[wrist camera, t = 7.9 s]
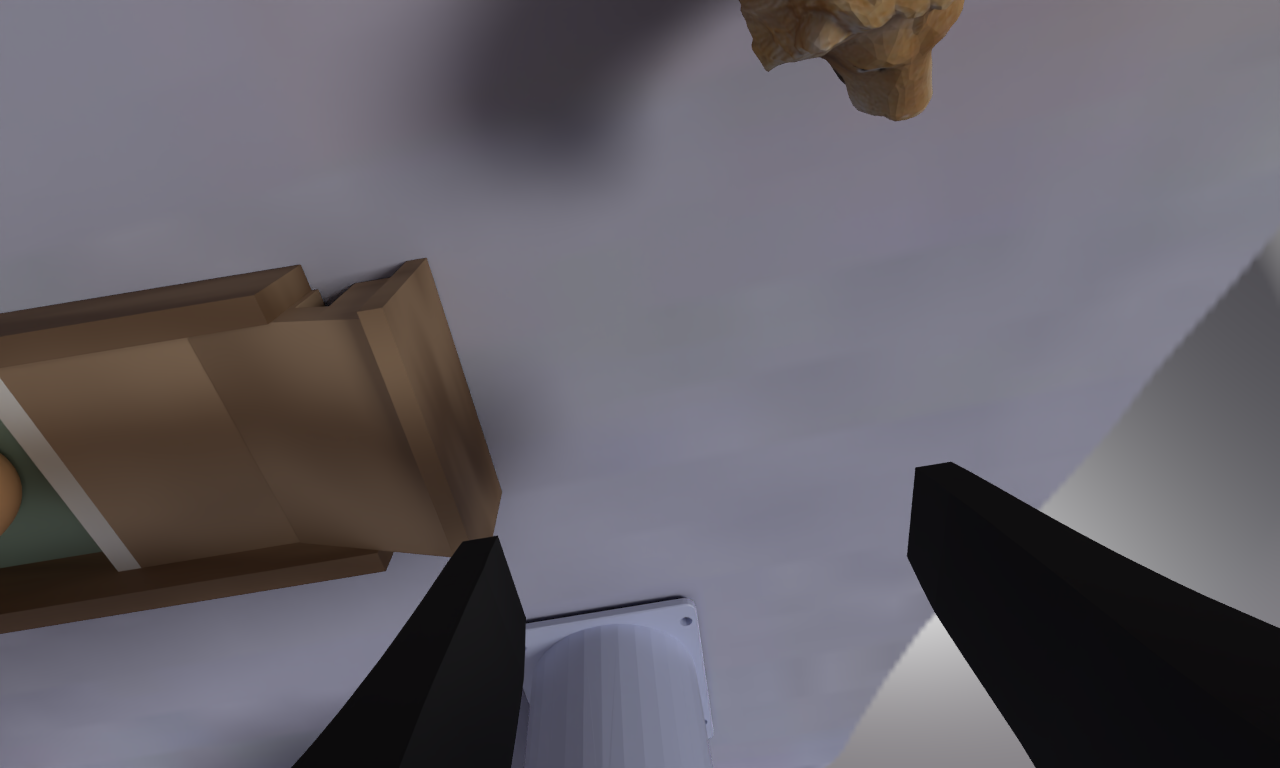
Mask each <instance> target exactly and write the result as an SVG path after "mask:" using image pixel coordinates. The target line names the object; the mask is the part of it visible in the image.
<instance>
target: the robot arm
mask: <svg viewBox="0 0 1280 768" xmlns="http://www.w3.org/2000/svg"><path fill="white" fill-rule="evenodd" d="M907 557H908V559H909V561H910V564H911V566H912V568H913V570H914V572H915V574H916V576H917V578H918V580H919V582H920V585H921V587H922V589H923V590H924V592H925V594H926V596H927V598H928V600H929V602H930V604H931V606H932V608H933V610H934V612H935V613H936V615H937V616H938V618H939V620H940V621H941V623H942V624H943V626H944V627H945V629H946V630H947V632H948V634H949V635H950V637H951V638H952V639H953V641H954V643H955V644H956V646H957V647H958V649H959V650H960V652H961V653H962V655H963V657H964V658H965V660H966V661H967V662H968V664H969V666H970V667H971V669H972V670H973V672H974V673H975V675H976V676H977V678H978V679H979V681H980V682H981V684H982V685H983V687H984V688H985V689H986V691H987V693H988V694H989V696H990V697H991V698H992V700H993V702H994V703H995V705H996V706H997V708H998V709H999V711H1000V712H1001V714H1002V715H1003V717H1004V718H1005V720H1006V721H1007V723H1008V724H1009V726H1010V727H1011V729H1012V731H1013V732H1014V733H1015V735H1016V737H1017V738H1018V739H1019V741H1020V743H1021V744H1022V746H1023V748H1024V749H1025V751H1026V753H1027V754H1028V756H1029V757H1030V759H1031V761H1032V762H1033V764H1034V766H1035V767H1036V768H1280V628H1278V627H1275V626H1273V625H1271V624H1268V623H1266V622H1264V621H1262V620H1259V619H1257V618H1255V617H1252V616H1250V615H1248V614H1246V613H1243V612H1241V611H1239V610H1236V609H1234V608H1232V607H1229V606H1227V605H1225V604H1223V603H1220V602H1218V601H1216V600H1213V599H1211V598H1209V597H1206V596H1204V595H1202V594H1200V593H1198V592H1196V591H1194V590H1192V589H1189V588H1187V587H1185V586H1183V585H1181V584H1178V583H1177V582H1174V581H1172V580H1170V579H1168V578H1166V577H1164V576H1162V575H1160V574H1158V573H1156V572H1154V571H1152V570H1150V569H1148V568H1146V567H1144V566H1142V565H1140V564H1138V563H1136V562H1134V561H1132V560H1130V559H1128V558H1126V557H1124V556H1122V555H1120V554H1118V553H1116V552H1114V551H1112V550H1110V549H1108V548H1106V547H1105V546H1103V545H1101V544H1099V543H1097V542H1095V541H1093V540H1092V539H1089V538H1088V537H1086V536H1084V535H1082V534H1080V533H1078V532H1076V531H1075V530H1073V529H1071V528H1069V527H1068V526H1066V525H1064V524H1062V523H1060V522H1058V521H1057V520H1055V519H1053V518H1051V517H1049V516H1048V515H1046V514H1044V513H1042V512H1040V511H1039V510H1037V509H1035V508H1033V507H1032V506H1030V505H1028V504H1026V503H1025V502H1023V501H1021V500H1019V499H1017V498H1016V497H1014V496H1012V495H1010V494H1009V493H1007V492H1005V491H1003V490H1002V489H1000V488H998V487H996V486H995V485H993V484H991V483H989V482H988V481H986V480H984V479H982V478H980V477H979V476H977V475H975V474H973V473H971V472H970V471H968V470H966V469H964V468H962V467H960V466H958V465H956V464H954V463H952V462H947V463H941V464H934V465H928V466H922V467H916V468H915V478H914V489H913V499H912V510H911V520H910V531H909V541H908V552H907ZM685 617H688V618H685ZM522 689H523V690H524V692H525V695H526V698H527V700H528V703H529V706H530V709H529V719H528V730H527V740H526V751H525V761H524V768H713V763H712V758H711V752H710V746H709V741H708V740H709V739H710V738H711V737H712V736H713V734H714V730H713V723H712V716H711V709H710V702H709V695H708V688H707V681H706V674H705V667H704V660H703V652H702V645H701V638H700V631H699V624H698V617H697V610H696V605H695V603H694V601H693V600H691V599H688V598H680V599H674V600H668V601H662V602H656V603H649V604H643V605H637V606H631V607H625V608H619V609H613V610H606V611H600V612H594V613H588V614H582V615H576V616H570V617H563V618H557V619H551V620H545V621H539V622H533V623H527V624H526V617H525V614H524V611H523V608H522V605H521V602H520V599H519V597H518V594H517V591H516V588H515V585H514V582H513V579H512V576H511V573H510V570H509V567H508V564H507V561H506V558H505V556H504V553H503V550H502V547H501V544H500V541H499V538H498V536H493V537H487V538H480V539H474V540H468V541H463V542H462V543H461V544H460V546H459V547H458V548H457V550H456V551H455V552H454V554H453V555H452V557H451V558H450V560H449V561H448V563H447V564H446V566H445V567H444V569H443V570H442V572H441V573H440V575H439V576H438V577H437V579H436V580H435V582H434V583H433V585H432V586H431V588H430V589H429V591H428V592H427V594H426V595H425V597H424V598H423V600H422V601H421V602H420V604H419V605H418V607H417V608H416V610H415V611H414V613H413V614H412V615H411V617H410V618H409V620H408V621H407V622H406V624H405V625H404V627H403V628H402V629H401V631H400V632H399V634H398V635H397V636H396V638H395V639H394V641H393V642H392V643H391V645H390V646H389V648H388V649H387V650H386V652H385V653H384V655H383V656H382V657H381V659H380V660H379V661H378V663H377V664H376V665H375V666H374V668H373V669H372V670H371V672H370V673H369V674H368V675H367V677H366V678H365V679H364V681H363V682H362V683H361V684H360V686H359V687H358V688H357V690H356V691H355V692H354V693H353V695H352V696H351V697H350V699H349V700H348V701H347V702H346V704H345V705H344V706H343V708H342V709H341V710H340V711H339V713H338V714H337V715H336V716H335V717H334V719H333V720H332V721H331V722H330V723H329V725H328V726H327V727H326V728H325V730H324V731H323V732H322V733H321V734H320V735H319V737H318V738H317V739H316V740H315V741H314V743H313V744H312V745H311V746H310V747H309V748H308V750H307V751H306V752H305V753H304V754H303V755H302V756H301V757H300V758H299V760H298V761H297V762H296V763H295V764H294V765H293V766H292V767H291V768H511V764H512V757H513V750H514V744H515V737H516V730H517V724H518V717H519V710H520V703H521V696H522Z"/></svg>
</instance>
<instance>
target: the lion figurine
mask: <svg viewBox="0 0 1280 768" xmlns="http://www.w3.org/2000/svg"><path fill="white" fill-rule="evenodd" d="M739 1H740V3H741V12H742V15H743V16H744V18H745V20H746V23H747V27H748V29H749V31H750V33H751V35H752V37H753V42H752V50H753V51H754V53H755V54H756V56H757V57H758V59H759V60H760V62H761V63H762V65H763V67H764V68H765V70H766V71H768V72H769V71H770V70H772V69H773V68H775V67H776V66H778V65H781V64H784V63H788V62H797V61H801V60H805V59H810V58H816V57H821V58H823V59H825V60H827V61H828V63H829V64H830V65H831V67H832V68H833V70H834V71H835V73H836V74H837V76H838V77H839V79H840V80H841V81H842V82H843V83H844V84H845V85H846V87H847V91H848V95H849V98H850V100H851V102H852V104H853V106H854V107H855V108H856V109H857V110H858V111H861V112H864V113H867V114H870V115H874V116H884V117H886V118H888V119H890V120H893V121H901V120H906V119H909V118H912V117H915V116H917V115H919V114H920V113H921V112H922V111H924V109H925V108H926V106H927V105H928V103H929V101H930V99H931V97H932V94H933V90H932V58H931V51H932V48H933V47H934V46H935V45H936V44H937V43H938V42H939V41H940V40H941V39H942V38H943V37H944V36H945V35H946V34H947V32H948V31H949V29H950V28H951V26H952V25H953V24H954V23H955V22H956V20H957V19H958V17H959V15H960V13H961V11H962V9H963V4H964V0H739Z"/></svg>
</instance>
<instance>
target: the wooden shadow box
mask: <svg viewBox="0 0 1280 768" xmlns="http://www.w3.org/2000/svg"><path fill="white" fill-rule="evenodd" d="M0 453H1V454H2V455H3V456H5V457H6V458H7V459H8V460H9V461H10V462H11V464H12V465H13V466H14V468H15V469H16V471H17V473H18V475H19V477H20V481H21V485H22V500H21V505H20V508H19V511H18V513H17V515H16V517H15V519H14V520H13V522H12V523H11V525H10V526H9V527H8V528H7V530H6V531H5V532H4V533H3V534H2V535H1V536H0V634H2V633H9V632H15V631H21V630H27V629H33V628H39V627H45V626H52V625H58V624H64V623H70V622H76V621H82V620H88V619H95V618H101V617H107V616H113V615H119V614H125V613H131V612H137V611H144V610H150V609H156V608H162V607H168V606H174V605H180V604H187V603H193V602H199V601H205V600H211V599H217V598H223V597H229V596H236V595H242V594H248V593H254V592H260V591H266V590H272V589H279V588H285V587H291V586H297V585H303V584H309V583H315V582H322V581H328V580H334V579H340V578H346V577H352V576H358V575H364V574H371V573H377V572H383V571H386V569H387V567H388V565H389V562H390V560H391V557H392V555H393V552H402V553H413V554H424V555H434V556H445V557H452V555H453V554H454V552H455V551H456V550H457V548H458V547H459V546H460V544H461V543H462V542H463V541H468V540H474V539H480V538H487V537H493V533H494V528H495V523H496V518H497V514H498V509H499V504H500V499H501V495H502V491H501V488H500V484H499V481H498V478H497V475H496V472H495V469H494V466H493V463H492V460H491V456H490V453H489V450H488V447H487V444H486V441H485V438H484V435H483V432H482V429H481V425H480V422H479V419H478V416H477V413H476V410H475V407H474V404H473V401H472V397H471V394H470V391H469V388H468V385H467V382H466V379H465V376H464V373H463V370H462V366H461V363H460V360H459V357H458V354H457V351H456V348H455V345H454V342H453V338H452V335H451V332H450V329H449V326H448V323H447V320H446V317H445V314H444V311H443V307H442V304H441V301H440V298H439V295H438V292H437V289H436V286H435V283H434V279H433V276H432V273H431V270H430V267H429V264H428V261H427V258H423V259H417V260H411V261H406V262H405V263H404V264H403V265H402V266H401V267H400V268H399V269H398V270H397V271H396V272H395V273H394V274H393V275H392V276H391V277H390V278H385V279H378V280H372V281H366V282H360V283H354V284H353V285H352V286H351V287H350V288H349V289H348V290H347V291H346V292H344V293H343V294H342V295H341V296H340V297H339V298H338V299H337V300H335V301H334V302H333V303H332V304H331V305H330V306H325V304H324V302H323V300H322V297H321V295H320V292H319V290H318V289H317V290H311V288H310V286H309V283H308V281H307V279H306V276H305V274H304V272H303V269H302V267H301V265H294V266H288V267H282V268H276V269H270V270H264V271H258V272H252V273H245V274H239V275H233V276H227V277H221V278H215V279H209V280H203V281H197V282H191V283H184V284H178V285H172V286H166V287H160V288H154V289H148V290H142V291H136V292H129V293H123V294H117V295H111V296H105V297H99V298H93V299H87V300H81V301H74V302H68V303H62V304H56V305H50V306H44V307H38V308H32V309H26V310H19V311H13V312H7V313H1V314H0Z"/></svg>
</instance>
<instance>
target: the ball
mask: <svg viewBox="0 0 1280 768" xmlns="http://www.w3.org/2000/svg"><path fill="white" fill-rule="evenodd" d="M21 500H22V485H21V481H20V477H19V475H18V473H17V471H16V469H15V468H14V466H13V465H12V464H11V462H10V461H9V460H8V459H7V458H6V457H5V456H3V455H2V454H1V453H0V536H1V535H2V534H3V533H4V532H5V531H6V530H7V528H8V527H9V526H10V525H11V523H12V522H13V520H14V519H15V517H16V515H17V513H18V511H19V508H20V505H21Z"/></svg>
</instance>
